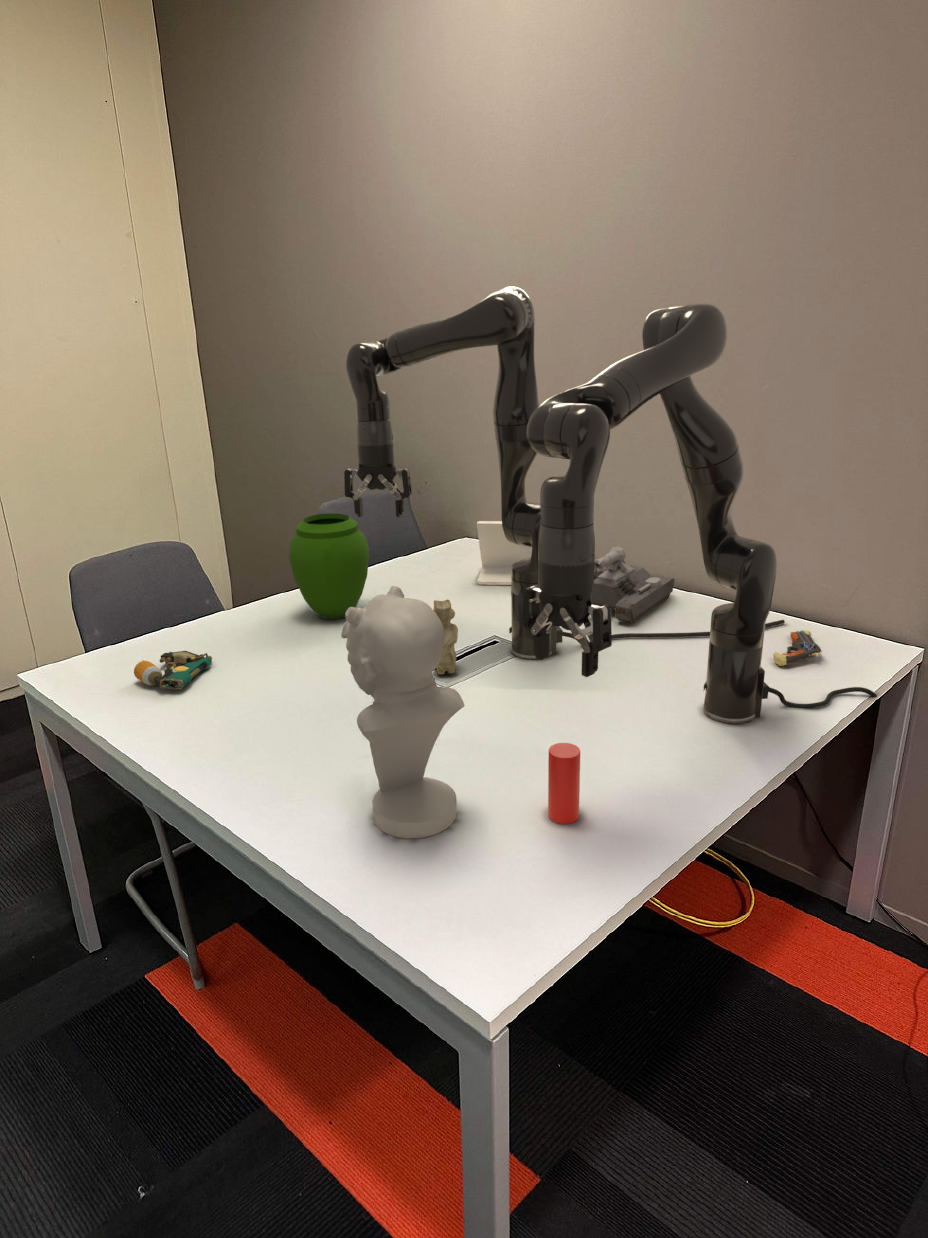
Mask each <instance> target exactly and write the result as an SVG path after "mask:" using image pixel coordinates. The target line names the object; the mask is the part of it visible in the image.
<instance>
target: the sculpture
mask: <svg viewBox="0 0 928 1238" xmlns="http://www.w3.org/2000/svg"><path fill="white" fill-rule="evenodd" d="M433 611H434V612H435V613H436V614H437V615H438V617H439V619H440V620H441V623H442V625H443V628H444V634H445V636H444V647H443V652H442V656H441V659H440V662H439V664H438V666H437V667H436V668H435V669H436V671H437V674H438V675H445V674H446V672H447V673H448V674H455V673H456V666H457V665H456V663H457V652H456V649H455V644H456V643H457V642H458V637H459V635H458V634H459V627H458V626H457V624H455V623H453V622H451V621H452V620H453V619H454V618H455V615H456V611H455V609H453V608H452V602H451V601H450V599H445V600H433Z"/></svg>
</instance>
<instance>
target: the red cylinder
mask: <svg viewBox="0 0 928 1238" xmlns="http://www.w3.org/2000/svg"><path fill="white" fill-rule="evenodd" d="M547 768H548V770H547V771H548V775H547V776H548V779H547V781H548V785H547V792H548V793H547V816H548V818H549V820H550V821H552V822H553V823H556V824H559V825H569V824H573V823H575V822H577V820H578V819H579V818H580V788H581V787H580V786H581V785H580V784H581V749H580V747H578V745H576V744H573V743H569V742H559V743H554V744H552V745H550V746H549V748H548V767H547Z"/></svg>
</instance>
